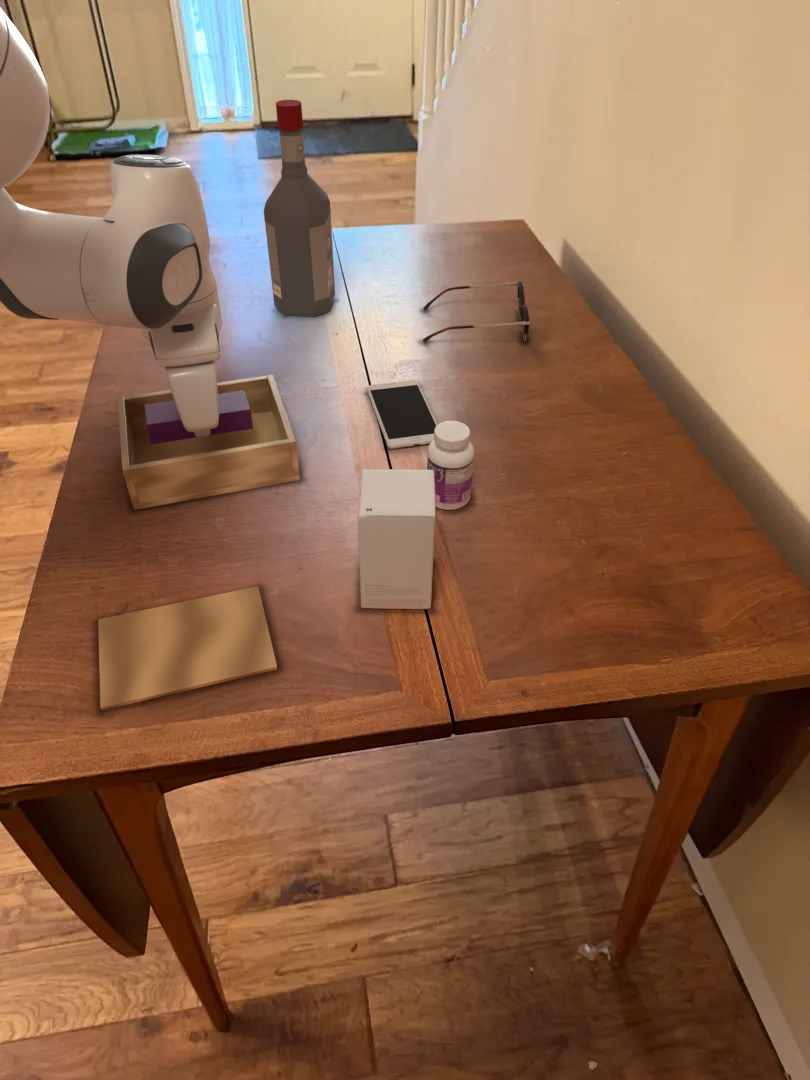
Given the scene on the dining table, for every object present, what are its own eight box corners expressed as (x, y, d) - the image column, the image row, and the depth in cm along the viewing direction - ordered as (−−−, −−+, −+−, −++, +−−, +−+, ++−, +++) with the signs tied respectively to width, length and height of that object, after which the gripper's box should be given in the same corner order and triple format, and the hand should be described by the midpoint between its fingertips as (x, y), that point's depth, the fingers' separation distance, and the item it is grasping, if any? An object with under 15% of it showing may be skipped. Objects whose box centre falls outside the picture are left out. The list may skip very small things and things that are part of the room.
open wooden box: (134, 510, 90) (122, 470, 86) (128, 435, 101) (117, 397, 97) (300, 480, 95) (296, 441, 91) (277, 411, 105) (272, 374, 102)
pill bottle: (419, 488, 94) (420, 421, 87) (459, 479, 95) (464, 412, 88) (436, 516, 90) (439, 448, 83) (477, 506, 91) (484, 438, 85)
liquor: (337, 294, 132) (326, 95, 111) (327, 319, 125) (314, 113, 105) (284, 291, 132) (264, 93, 112) (272, 315, 126) (248, 110, 105)
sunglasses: (528, 349, 119) (530, 318, 115) (423, 353, 119) (421, 323, 116) (520, 307, 129) (521, 278, 125) (423, 311, 129) (422, 282, 126)
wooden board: (101, 710, 70) (100, 707, 70) (99, 622, 78) (97, 619, 77) (277, 669, 73) (277, 666, 73) (258, 589, 81) (258, 585, 81)
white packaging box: (431, 611, 79) (436, 517, 70) (359, 609, 79) (354, 515, 71) (431, 560, 84) (435, 467, 76) (363, 559, 85) (360, 466, 76)
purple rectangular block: (151, 444, 92) (146, 424, 90) (149, 424, 95) (144, 404, 93) (253, 428, 94) (250, 409, 93) (247, 409, 98) (244, 389, 96)
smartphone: (388, 446, 98) (365, 385, 109) (388, 450, 99) (365, 389, 110) (445, 439, 100) (417, 378, 110) (445, 443, 100) (417, 382, 111)
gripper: (143, 277, 91) (165, 380, 101) (156, 362, 77) (181, 473, 86) (197, 271, 93) (215, 373, 102) (220, 353, 78) (238, 463, 88)
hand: (199, 420), depth 94 cm, fingers closed on purple rectangular block, 4 cm apart
